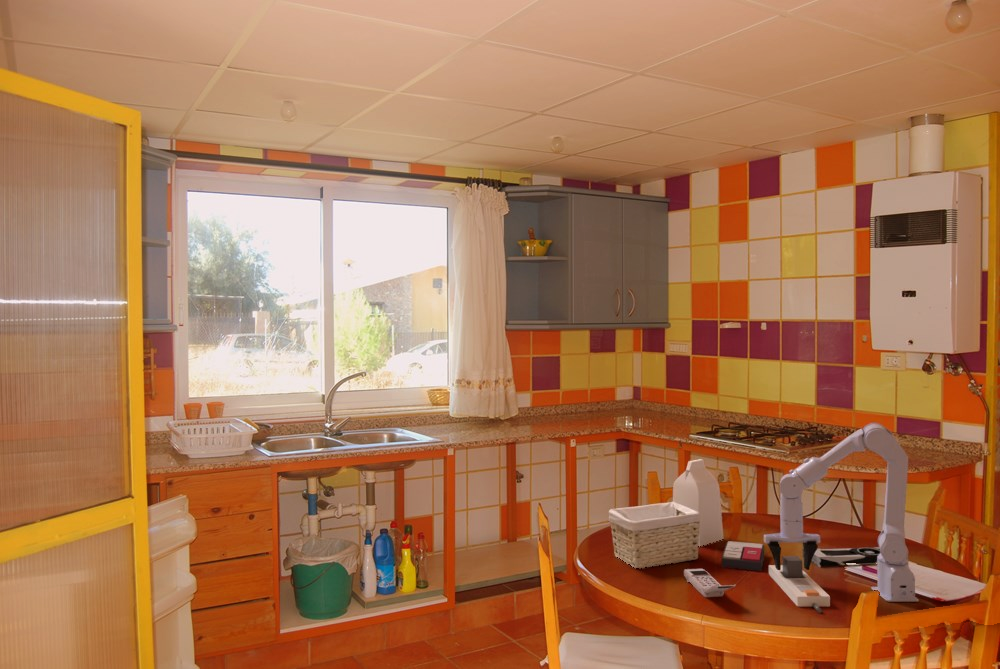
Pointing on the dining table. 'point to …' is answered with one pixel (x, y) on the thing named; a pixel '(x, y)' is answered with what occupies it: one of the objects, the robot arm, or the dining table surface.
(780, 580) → the power strip
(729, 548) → the dark grey box
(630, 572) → the dining table surface
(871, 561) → the graphics card
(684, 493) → the milk
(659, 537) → the storage basket
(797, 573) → the plug
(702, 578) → the mobile phone
